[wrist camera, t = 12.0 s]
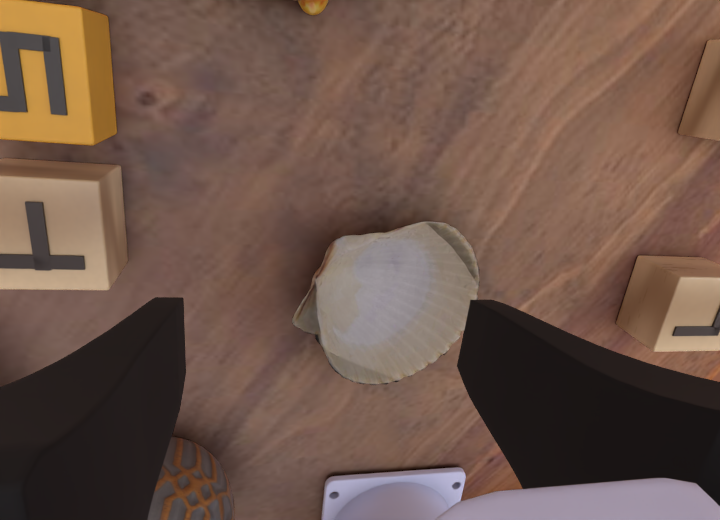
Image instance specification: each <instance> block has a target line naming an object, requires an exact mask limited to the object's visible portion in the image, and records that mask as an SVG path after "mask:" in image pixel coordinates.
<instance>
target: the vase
mask: <svg viewBox="0 0 720 520" xmlns="http://www.w3.org/2000/svg"><path fill="white" fill-rule="evenodd" d="M147 520H235V511H234V499H233V495H232V490H231V486H230V484H229V481H228V478H227V476H226V473H225V471H224V470H223V468H222V466H221V465H220V463H219V462H218V460H217V459H216V458H215V457H214V456H213V455H212V454H211V453H210V452H208V451H207V450H206V449H205V448H203V447H202V446H200V445H198V444H196V443H194V442H192V441H189V440H186V439H182V438H177V437H171V440H170V443H169V446H168V449H167V453H166V456H165V459H164V462H163V466H162V469H161V472H160V475H159V478H158V482H157V485H156V488H155V491H154V495H153V499H152V502H151V506H150V510H149V514H148V519H147Z"/></svg>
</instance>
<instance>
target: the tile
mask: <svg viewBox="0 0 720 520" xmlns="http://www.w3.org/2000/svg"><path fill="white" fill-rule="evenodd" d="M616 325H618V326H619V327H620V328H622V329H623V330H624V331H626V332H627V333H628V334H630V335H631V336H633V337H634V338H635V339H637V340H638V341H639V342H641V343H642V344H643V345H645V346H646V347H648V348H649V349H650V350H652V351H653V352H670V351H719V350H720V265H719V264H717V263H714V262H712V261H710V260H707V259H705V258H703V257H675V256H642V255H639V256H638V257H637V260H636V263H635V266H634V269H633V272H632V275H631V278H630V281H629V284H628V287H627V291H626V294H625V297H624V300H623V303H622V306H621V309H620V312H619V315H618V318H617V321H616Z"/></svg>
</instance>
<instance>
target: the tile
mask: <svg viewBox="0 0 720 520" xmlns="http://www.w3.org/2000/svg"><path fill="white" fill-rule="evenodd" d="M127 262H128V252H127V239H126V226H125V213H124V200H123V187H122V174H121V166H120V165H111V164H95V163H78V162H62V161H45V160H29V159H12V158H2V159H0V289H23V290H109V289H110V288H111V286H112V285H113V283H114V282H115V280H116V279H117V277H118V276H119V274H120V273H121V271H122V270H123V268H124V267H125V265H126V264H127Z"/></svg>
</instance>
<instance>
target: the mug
mask: <svg viewBox="0 0 720 520" xmlns="http://www.w3.org/2000/svg"><path fill="white" fill-rule="evenodd" d="M294 1H298V3H299V4H300V7H301V8H302V10H303V11H304V12H306V13H307V14H309V15H317V14H319V13H321V12H322V11H323V10H324V9H325V7H326V5H327V3H328V0H294Z"/></svg>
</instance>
